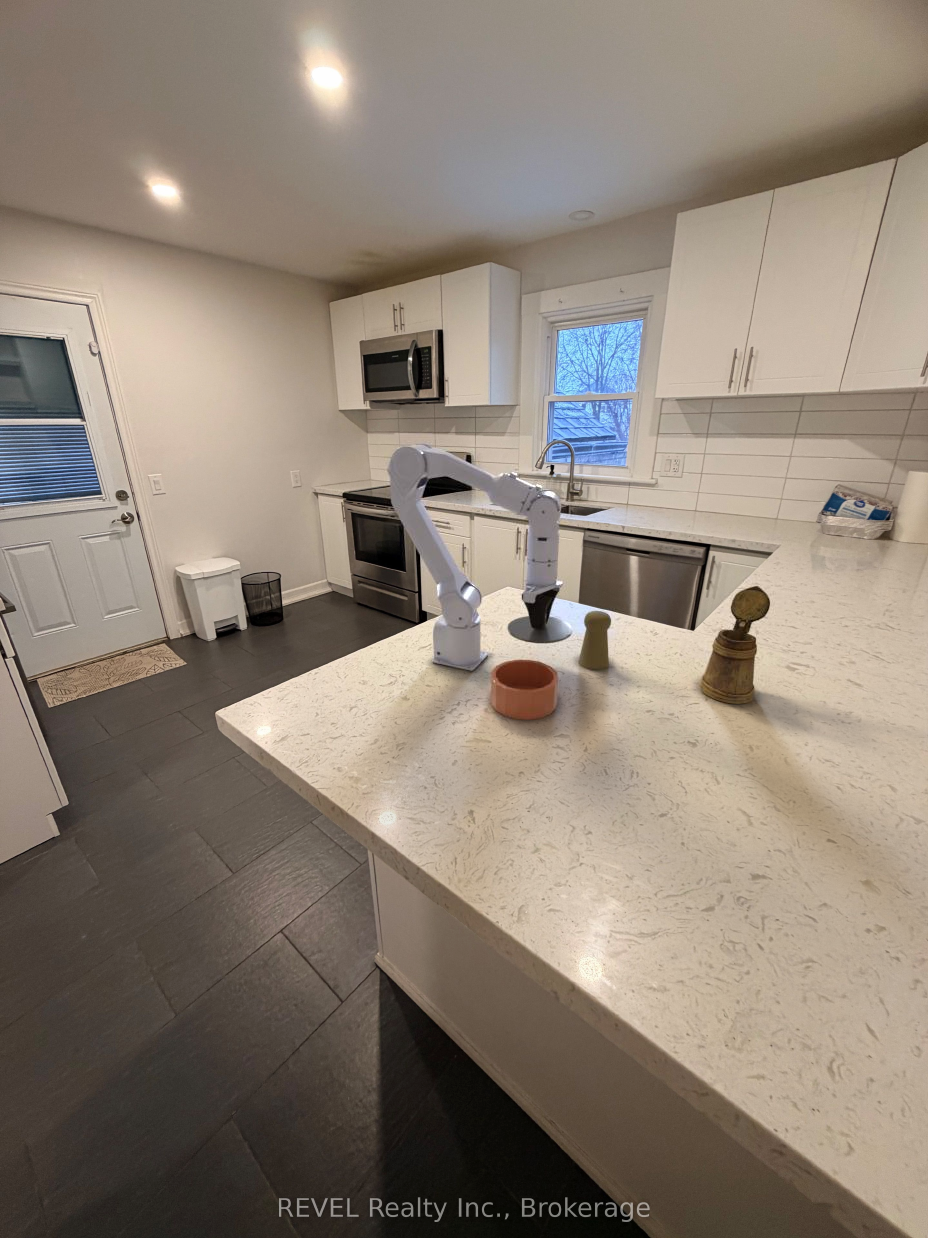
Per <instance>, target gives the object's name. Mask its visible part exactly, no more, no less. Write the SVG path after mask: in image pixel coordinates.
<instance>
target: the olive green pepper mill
mask: <svg viewBox="0 0 928 1238" xmlns="http://www.w3.org/2000/svg"><path fill="white" fill-rule="evenodd" d="M583 624H584V627H585V632H584V637H583V641H582V645H581V649H580V654H579V659H578V664H579V665H580V666H582V668H583V667H584V668H585V669H589V670H604V669H606V668H608V667H609V665H610V662H609V661H610V660H609V659H610V658H609V638H608V637H609V635H608V634H609V633H608V630H609V629H610V627H611V625H612V618H611V616H610V614H608V612H605V611H602V610H592V611H589V612H587V613H586V614H585V616H584V619H583Z"/></svg>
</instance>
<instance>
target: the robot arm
mask: <svg viewBox="0 0 928 1238" xmlns="http://www.w3.org/2000/svg"><path fill="white" fill-rule="evenodd" d="M386 472H387V475H389V483H390V485H389V486H390V503H391V505H392V508H393V510H394V511H395V513H396V515H397V517H398V518H399V520H400V521H401V524H402V525H403V527H404V529H405V531H406V532H407V534H408V536H409V538H410V540H411V542H412V544H413V545H414V546H415V549H416V550H417V552H418V554H419V555H420V557H421V559H422V561H423V562H424V564H425V566H426V568H427V570H428V571H429V573H430V575H431V577H432V578H433V581H434V583H435V584H436V593H437V594H436V595H437V600H438V602H439V603H440V606H441V615H442V616H440V617H438V618H437V619H436V621H435V623H434V625H433V629H432V646H433V659H431V661H432V662H431V663H435V664H439V665H444V666H448V667H451V668H452V667H453V668H458V669H462V670H466V671H469V672H470V671H474V670H475V669H476V668H477V667H478V666H479V665H480V664H481V663H482V662H483V661H484V660H485V659H486V658H487V657H488V656H489V653H488V652H486V651H481V647H482V646H481V643H482V642H481V639H482V637H481V635H482V634H481V616H480V615H479V612H478V608H479V607H480V606H481V604H482V600H483V595H482V593H481V590H480V589H479V587H478V586H476V585H474V584H473V583H472V582H471V581H470V579H469V578H468V575H467V574H465V573H463V572H462V571H460V569H459V566H458V565H457V563H456V561H455V560H454V558H453V556H452V554H451V553H450V550H449V549H448V547H447V545H446V543H445V542H444V540H443V538H442V536H441V534H440V532H439V530H438V528H437V527H436V525H435V523H434V522H433V520H432V518H431V516H430V514H429V513H428V510H427V509H426V507H425V505H424V502H423V501H422V498H423V494H424V492H425V488H426V486H427V483H428V482H429V480H430V479H434V478H441V477H442V478H443V477H448V478H451V479H452V480H455V481H458V482H460V483H462V484H465V485H467V486H470V487H473V488H475V489H478V490H479V491H481V492H484V493H486V494H487V496H488V498H489V500H490V503H492V504H493V505H496V506H499V507H500V508H502V509H505V510H507V511H509V512H511V513H513V514H516V515H517V516H520V517H526V520H527V521H528V533H527V546H526V574H525V575H526V576H525V580H524V591H523V592H522V593H521V600H522V603H524V605H525V608H526V610H527V614H528V616H529V619H530V623H531V627H532V628H536V629H542V628H543V626H544V622H545V616H546V623H547V622H548V619H549V617H551V616H550V615H551V612H552V607H553V605H554V603H555V600H556V598H557V596H558V594H559V592H560V591H561V588H562V587H564V586H563V584H564V582H563V581H561V580H560V581H559V580H558V566H559V565H558V564H559V549H560V547H559V545H560V533H559V531H560V523H559V521H560V518H561V515H562V513H561V512H562V502H561V499H560V497H559V496H558V494H556V493H555V492H553V490H551V489H548V488H544V489H542V487H543V486H541V485H539V484H536V485H533V484H530V483H529V482H527V481H524V480H522V479H521V478H520V479H519V478H518V473H516V472H513V471H511V472H509V473H507V472H501V473H499V474H496V475H494V474H492V473H490V472H488V471H486V470H484V469H481V468H480V467H478V466H477V465H474V464H472V463H470V462H468V461H466V460H464V459H462V458H461V457H458V456H456V455H455V454H452V453H451V452H448V451H446V450H444V449H441V448H439V447H432V446H431V445H430V444H427V443H423V442H419V443H415V444H413V445H403V446H400V447H398V448H397V449H395V450H394V452H393V453H392V455H391V457H390V461H389V462H388V466H387V469H386Z"/></svg>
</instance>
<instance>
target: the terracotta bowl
mask: <svg viewBox="0 0 928 1238" xmlns="http://www.w3.org/2000/svg"><path fill="white" fill-rule="evenodd" d="M490 672H491V676H490V695H491V696H490V702H491V705H492V707H493V708H494V709H495V711H496V712H498V713H499V714H502V715H503V716H505V717H508V718H511V719H515V720H523V721H524V720H526V721H527V720H537V719H542V718H544V717H546V716H548V715H551V714H552V713H553V712H554V711H555V709H556V707H557V704H558V693H559V675H558V671H557V670H556V669H554V668H553V667H552V666H551V665H548V664H546V663H544V662H541V661H537V660H532V659H513V660H508V661H504V662H501V663H498V664H497V665H495V667H494V668H493V669H492V670H491V671H490Z"/></svg>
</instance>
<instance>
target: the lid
mask: <svg viewBox="0 0 928 1238" xmlns="http://www.w3.org/2000/svg"><path fill="white" fill-rule="evenodd" d="M507 633H508V634H509V635H510V636H511V637H513V638H514V639H517V640H519V641H522V642H527V643H531V644H554V643H559V642H563V641H565V640H567V639H569V638H570V637H571V636H572V634H573V628H572V626H571V624H570V623H568V622H567V621H565V620H563V619H560V618H557V617H554V616H549V619H548V622H547V623H546V616H545V622H544V626H543V628H542V629H536V628H532V627H531V623H530V619H529V615H527V616H521V617H517V618H515V619H513V620H511V621H510V622H509V623H508V624H507Z"/></svg>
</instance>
